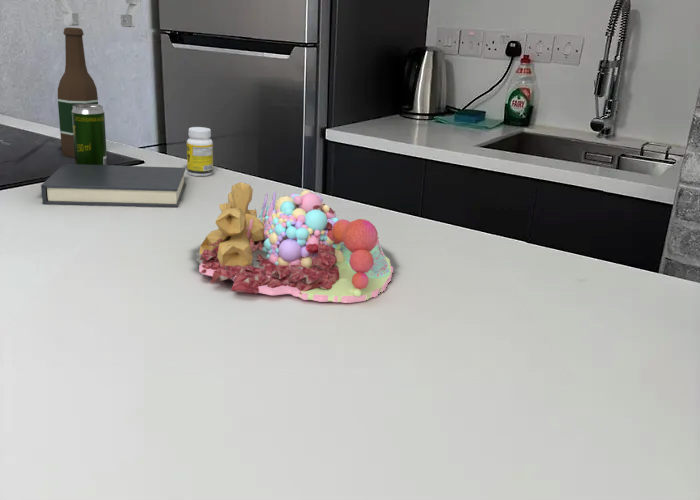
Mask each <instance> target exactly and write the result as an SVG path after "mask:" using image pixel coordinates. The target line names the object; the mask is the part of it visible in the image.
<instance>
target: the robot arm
mask: <svg viewBox="0 0 700 500" xmlns="http://www.w3.org/2000/svg"><path fill="white" fill-rule="evenodd" d="M54 1H55V3H56V4H57V6H58V7H59V9H60V11H61V12H62V14H63V24H64V25H65V26H70V27H71V26H74V27H79V26H80V25H79V24H80V21H79V17H80V16H79V13H77V12H73V10H72V7H71V6H70V4H69V2H70V1H71V0H54ZM125 3H126V4H128V7H127V9H126V11H125V13H124V14H120V20H121V21H120V25H121V27H123V28H135V26H136V17H135V16H137V14H138V11H139V10H140V8H141V6H142V0H125Z"/></svg>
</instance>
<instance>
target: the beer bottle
mask: <svg viewBox="0 0 700 500" xmlns="http://www.w3.org/2000/svg"><path fill="white" fill-rule="evenodd" d="M62 34H63V35H64V37H65V38H64V43H65V46H64V47H65V48H64V49H65V51H64V52H65V65H64V67H65V68H64V72H63V74H62V76H61V78H60V80H59V84H58V86H57V107H58V120H59V133H60V146H61V153H62V155H63V156H64V157H68V156H69V157H68V158H73V157H74V159H75V152H74V138H73V124H72V109H73V105H75V104H98V105H99V97H98V89H97V86H96V83H95V81H94V79H93V77H92V76H91V74H90V73H89V71H88V67H87V64H86V63H87V62H86V56H85V55H86V54H85V48H84V47H85V46H84V41H83V36H84V35H85V34H84V30H83V28H80V27H64V28H63V33H62Z"/></svg>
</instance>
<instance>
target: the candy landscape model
mask: <svg viewBox="0 0 700 500" xmlns="http://www.w3.org/2000/svg"><path fill="white" fill-rule="evenodd" d="M253 193H254V189H253V187H252V186H251V184H248V183H245V182H237V183H235V184H233V185H231V191H230V192H229V193H228V194H227V202H225V203H221V204H218V206H219V209H220V211H221V213H220V214H219V215H218V216H217V218H216V220H215V222H214V223H215V225H216V226H217V229H214V230H212V231H210V232H209V233H208V234H207V235H206V237H205V238H204V240H203V242H202V243H201V245H200V246H199V251H198V252H196V253H195V254H196V255H197V258H196V262H198V264H199V265H198V272H199V274H201V275H205V276H209V277H211V280H210V283H209V285H212V284H216V283H218V282H223V281H225V280H231V281H232V282H233V283H232V287H231V289H230V292H237V293H249V294H263V295H267V296H281V295H292V296H293V297H296V298H299V299H301V300H304V301H308V300H309V301H310V300H311V301H315V302H320V303H326V302H332V303H343V304H351V303H359V302H360V303H361V302H367V301H368V300H370V299H373V298H372V297H374V298H377V297H378V296H379V295H380V294H381V293H384V292H385V291H386V290H385V289H387V288H388V285H389V284H390V283H391V282H392V277H393V274H394V268H395V267H393V266H392V265H391V260H390V258H389V257H387V256H386V255H385V253H384V251H383V248H382V246H380V242H379V238H380V236H378V234H379V233H378V230H377V228H376V226H375V225H374V224H373V223H372V222H371V221H370V220H367V219H363V218H358V219H354V220H352V221H349V220H347V219H344V218H343V219H339V217H337V214H336V211H335V210H334V209H333V208H331V207H330V206H329V205H327V204H325V203H323V202H324V199H323V197H322V196H321V195H320V194H316V193H314V192H311V191H310V190H309V189H304V190H302V191H301V192H300V193H296V192H292V193H291V194H289V195H286V193H284V195H283V196H281V197H279V198H276V197H277V190H275V191H274V192H273V193H272V198H271V202H270V203H268V193H266V194H265V197H264V199H263V204H262V207H261V210H260V214H259V215H258V214H257V213H258V212H257V209H256V208H254V209H249V205H250V203H251V201H252V200H253ZM276 199H277V200H276ZM267 203H268V204H267ZM392 273H393V274H392ZM390 281H391V282H390ZM389 282H390V283H389ZM388 283H389V284H388ZM386 287H387V288H386ZM383 291H384V292H383ZM380 292H381V293H380ZM378 294H379V295H378ZM366 300H367V301H366Z"/></svg>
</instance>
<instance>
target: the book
mask: <svg viewBox="0 0 700 500" xmlns="http://www.w3.org/2000/svg"><path fill="white" fill-rule="evenodd" d="M185 172H186V167H174V166H173V167H171V166H146V165H145V166H143V165H142V166H141V165H116V164H115V165H113V164H107V165H85V164H75V163H63V165H61V166H60V167H59V168H58V169H57V170H56V171H55V172H54V173H52V175H50V176H49V177H48V178H47V179H46V180H44V182H42V184H40V190H41V200H42V201H41V203H42V204H43V205H60V206H61V205H63V206H65V205H66V206H67V205H69V206H70V205H71V206H103V207H104V206H105V207H106V206H108V207H110V206H112V207H150V208H152V207H153V208H178V207H179V204H180V201H181V200H182V199H181V198H182V196H183V193H184V189H185V187H186V182H185Z"/></svg>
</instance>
